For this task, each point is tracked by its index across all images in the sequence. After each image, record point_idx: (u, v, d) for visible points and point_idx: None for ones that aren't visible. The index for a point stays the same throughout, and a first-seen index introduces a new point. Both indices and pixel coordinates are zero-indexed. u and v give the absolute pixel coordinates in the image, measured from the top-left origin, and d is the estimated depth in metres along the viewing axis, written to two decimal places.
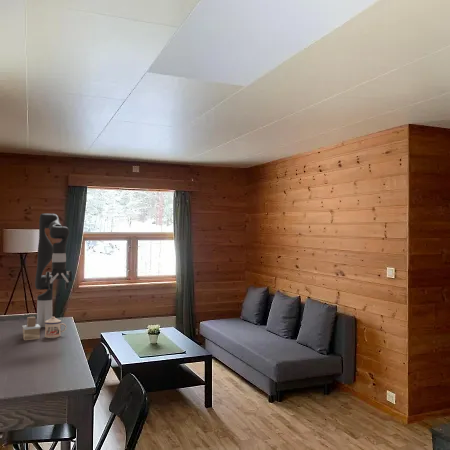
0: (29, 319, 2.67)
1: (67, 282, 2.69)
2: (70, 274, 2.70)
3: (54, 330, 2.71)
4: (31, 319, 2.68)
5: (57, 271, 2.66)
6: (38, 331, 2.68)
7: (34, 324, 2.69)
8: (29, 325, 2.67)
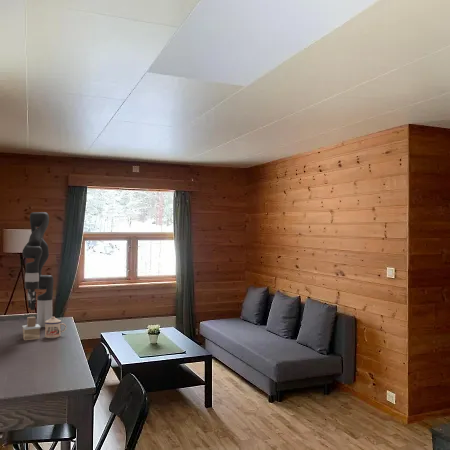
0: (29, 319, 2.67)
1: None
2: None
3: (54, 330, 2.71)
4: (31, 319, 2.68)
5: None
6: (38, 331, 2.68)
7: (34, 324, 2.69)
8: (29, 325, 2.67)
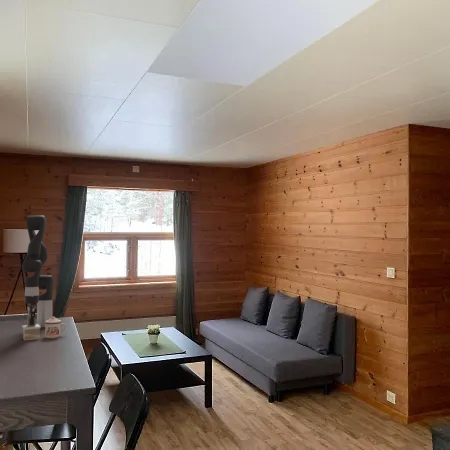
0: (29, 319, 2.67)
1: None
2: None
3: (54, 330, 2.71)
4: None
5: None
6: (38, 331, 2.68)
7: (34, 324, 2.69)
8: (29, 325, 2.67)
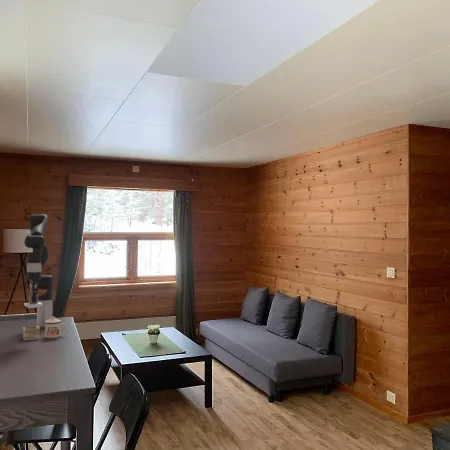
0: (31, 296, 2.59)
1: None
2: None
3: (54, 330, 2.71)
4: None
5: None
6: (38, 331, 2.68)
7: (36, 301, 2.60)
8: (31, 302, 2.59)
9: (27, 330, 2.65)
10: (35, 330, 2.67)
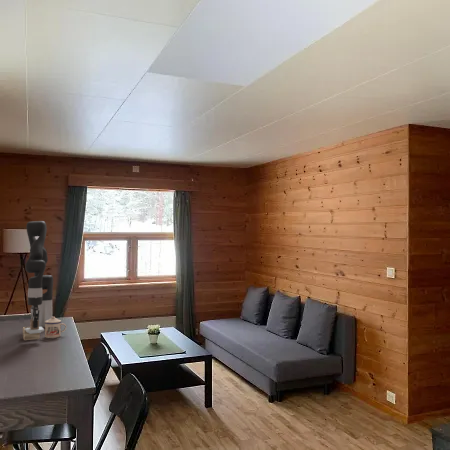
0: (32, 321, 2.57)
1: None
2: None
3: (54, 330, 2.71)
4: None
5: None
6: None
7: (37, 327, 2.58)
8: (32, 328, 2.57)
9: None
10: None
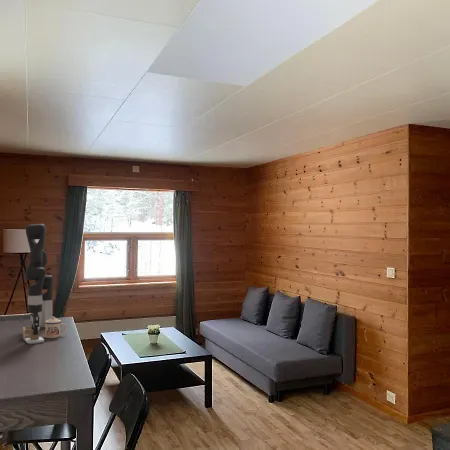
0: (32, 332, 2.57)
1: (36, 325, 2.63)
2: None
3: (54, 330, 2.71)
4: None
5: None
6: None
7: (37, 337, 2.58)
8: (32, 338, 2.57)
9: (27, 330, 2.65)
10: None
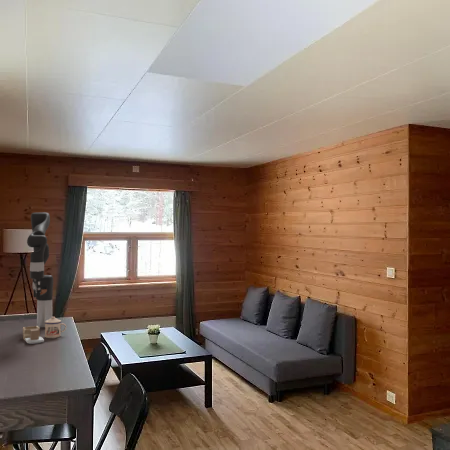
0: (32, 332, 2.57)
1: None
2: None
3: (54, 330, 2.71)
4: (34, 332, 2.58)
5: None
6: None
7: (37, 337, 2.58)
8: (32, 338, 2.57)
9: (27, 330, 2.65)
10: None
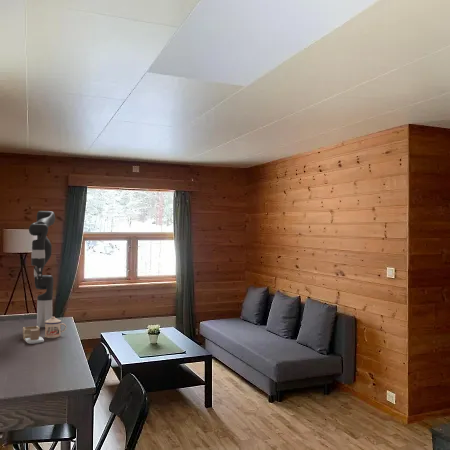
0: (32, 332, 2.57)
1: None
2: None
3: (54, 330, 2.71)
4: (34, 332, 2.58)
5: None
6: None
7: (37, 337, 2.58)
8: (32, 338, 2.57)
9: (27, 330, 2.65)
10: None
